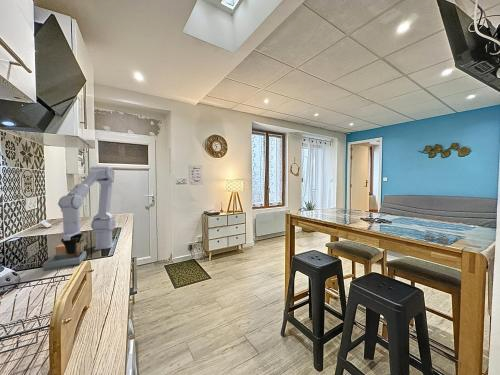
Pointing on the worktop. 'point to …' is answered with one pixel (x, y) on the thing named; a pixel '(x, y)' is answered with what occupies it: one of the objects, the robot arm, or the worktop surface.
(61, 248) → the terracotta block
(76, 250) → the walnut block
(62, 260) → the slate tray
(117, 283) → the worktop surface
